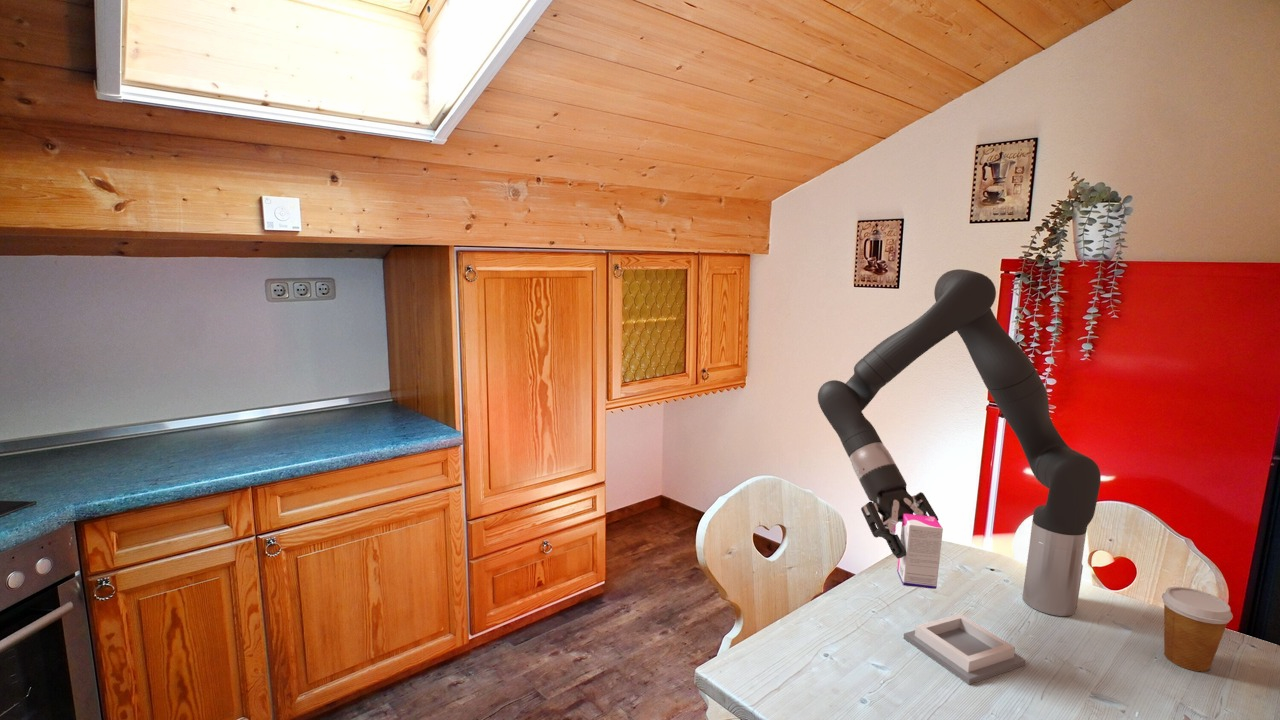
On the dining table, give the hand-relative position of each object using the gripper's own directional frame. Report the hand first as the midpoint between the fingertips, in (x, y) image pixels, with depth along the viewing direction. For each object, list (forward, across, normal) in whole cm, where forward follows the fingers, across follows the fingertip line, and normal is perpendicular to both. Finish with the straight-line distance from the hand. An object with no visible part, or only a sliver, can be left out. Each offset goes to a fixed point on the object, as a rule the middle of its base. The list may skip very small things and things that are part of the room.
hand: (919, 552), depth 114 cm
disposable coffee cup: (+29, +43, -2) cm, 52 cm away
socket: (+16, +7, +9) cm, 20 cm away
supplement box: (+4, 0, +4) cm, 5 cm away
